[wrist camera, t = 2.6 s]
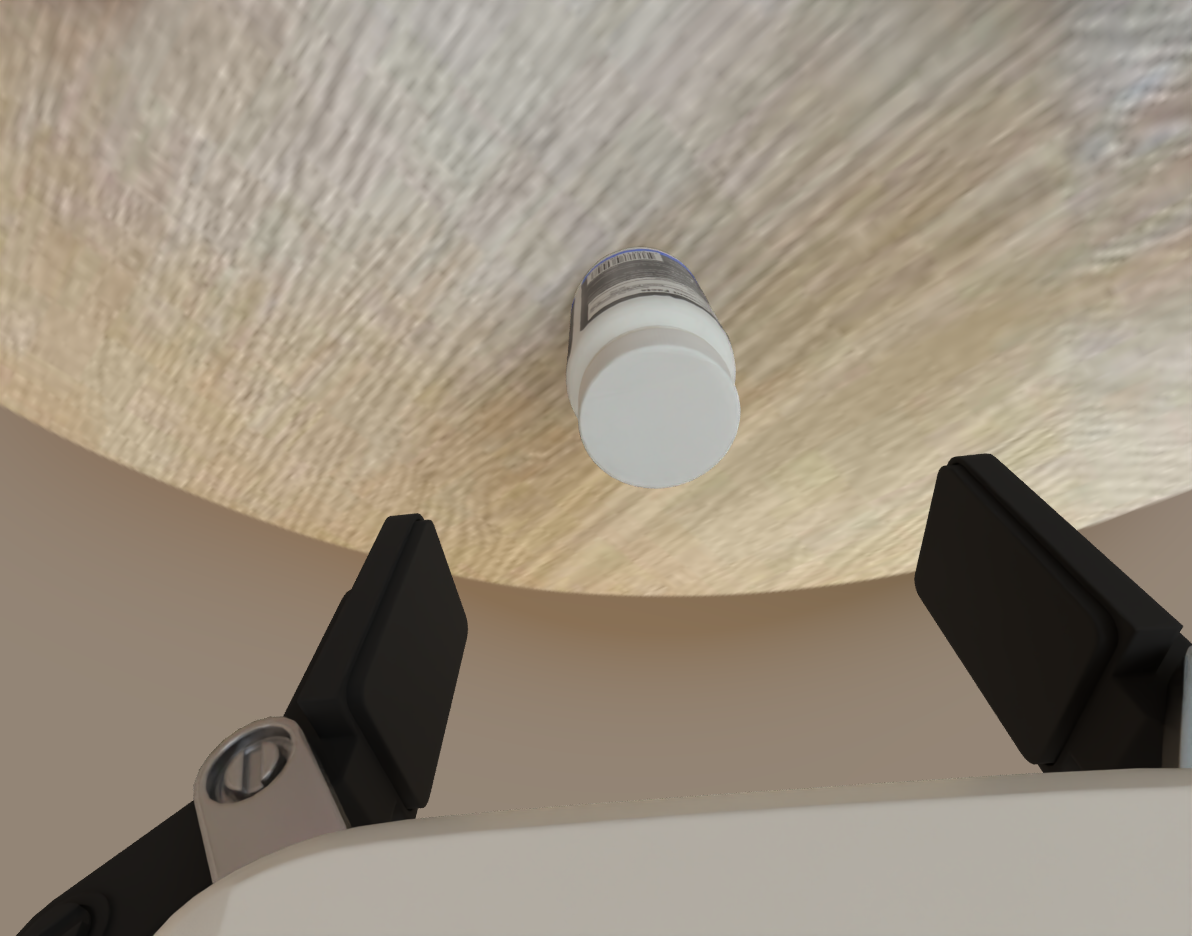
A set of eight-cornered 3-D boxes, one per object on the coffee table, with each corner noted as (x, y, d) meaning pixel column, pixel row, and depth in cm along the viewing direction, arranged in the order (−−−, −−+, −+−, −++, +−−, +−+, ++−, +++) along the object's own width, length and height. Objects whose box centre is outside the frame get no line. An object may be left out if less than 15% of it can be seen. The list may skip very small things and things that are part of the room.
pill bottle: (665, 389, 23) (697, 525, 16) (552, 344, 22) (534, 468, 15) (726, 276, 20) (796, 377, 13) (603, 220, 19) (610, 297, 12)
